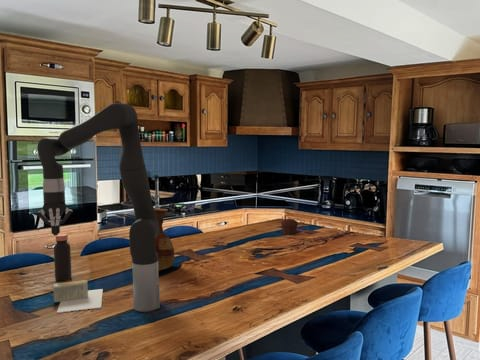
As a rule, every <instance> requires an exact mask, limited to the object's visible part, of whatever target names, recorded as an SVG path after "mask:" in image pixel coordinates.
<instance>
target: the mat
mask: <svg viewBox="0 0 480 360" xmlns="http://www.w3.org/2000/svg"><path fill="white" fill-rule="evenodd" d="M103 291H104V289H103V288H99V289H91V290H90V289H88V298H81V299H74V300H67V301H61V302H59V304H58V308H57V311H56V314H62V313H63V314H64V313H71V311H73V312H79V310H81V311H89V310H88V309H90V310H97V309H102V303H103Z"/></svg>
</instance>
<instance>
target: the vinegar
mask: <svg viewBox="0 0 480 360" xmlns="http://www.w3.org/2000/svg"><path fill="white" fill-rule="evenodd" d="M68 239H69V237H68V234H67V233H59V234H58V235H55V241H56V243H55V244H54V246H53V257H54V258H53V259H54V260H53V261H54V263H53V264H54V279H55V281H58V282H66V281H68V280H70V279H71V278H72V258H71V257H72V256H71V253H72V252H71V244H69V243H68V241H69V240H68Z"/></svg>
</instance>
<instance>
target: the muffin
mask: <svg viewBox="0 0 480 360" xmlns="http://www.w3.org/2000/svg"><path fill="white" fill-rule="evenodd" d="M280 225H281V229H282V235H285V236H295V235H296V234H297V228H298V226H299V223H298V221H297V220H295V219H294V218H286V219H283V220H282V221H281V223H280Z"/></svg>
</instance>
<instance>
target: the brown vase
mask: <svg viewBox="0 0 480 360" xmlns="http://www.w3.org/2000/svg"><path fill="white" fill-rule="evenodd" d="M154 211H155V214H156V217H157V220H158V223H159V234H158V236H157V237H156V238H155V250H156V252H157V254H158V272H160V271H162V270H166V269H168V268H170V267H172V266H173V265H174V261H175V249H174V245H173V242H172V240H171V239H170V237H169V235H167V234H166V233H165V232H164V228H163V223H164V216H165V215H166V214H167V212H169V209H167V208H154Z"/></svg>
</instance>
